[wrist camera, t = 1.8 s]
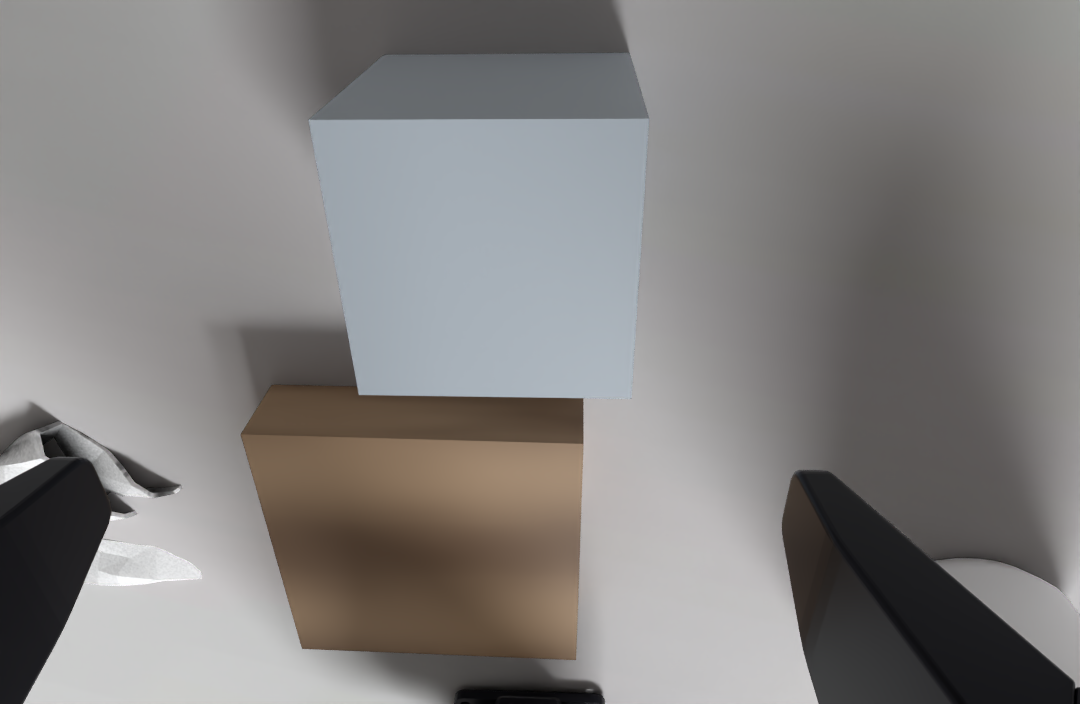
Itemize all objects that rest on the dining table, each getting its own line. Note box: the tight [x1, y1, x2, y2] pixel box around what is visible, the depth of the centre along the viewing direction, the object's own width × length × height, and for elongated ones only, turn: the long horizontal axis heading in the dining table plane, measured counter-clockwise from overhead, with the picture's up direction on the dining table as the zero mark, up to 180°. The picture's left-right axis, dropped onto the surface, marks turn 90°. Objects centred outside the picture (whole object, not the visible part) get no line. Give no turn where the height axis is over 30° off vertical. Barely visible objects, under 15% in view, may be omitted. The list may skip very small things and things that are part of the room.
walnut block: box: [241, 385, 583, 660], centre depth 25 cm, size 10×10×3 cm
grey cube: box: [308, 53, 649, 399], centre depth 17 cm, size 6×6×6 cm
